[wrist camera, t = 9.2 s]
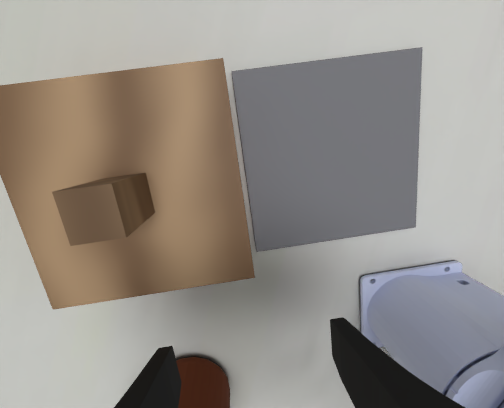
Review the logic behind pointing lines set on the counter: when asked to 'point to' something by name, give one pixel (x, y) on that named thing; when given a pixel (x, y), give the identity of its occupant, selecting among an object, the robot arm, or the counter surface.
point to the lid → (126, 181)
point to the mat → (330, 146)
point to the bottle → (202, 384)
